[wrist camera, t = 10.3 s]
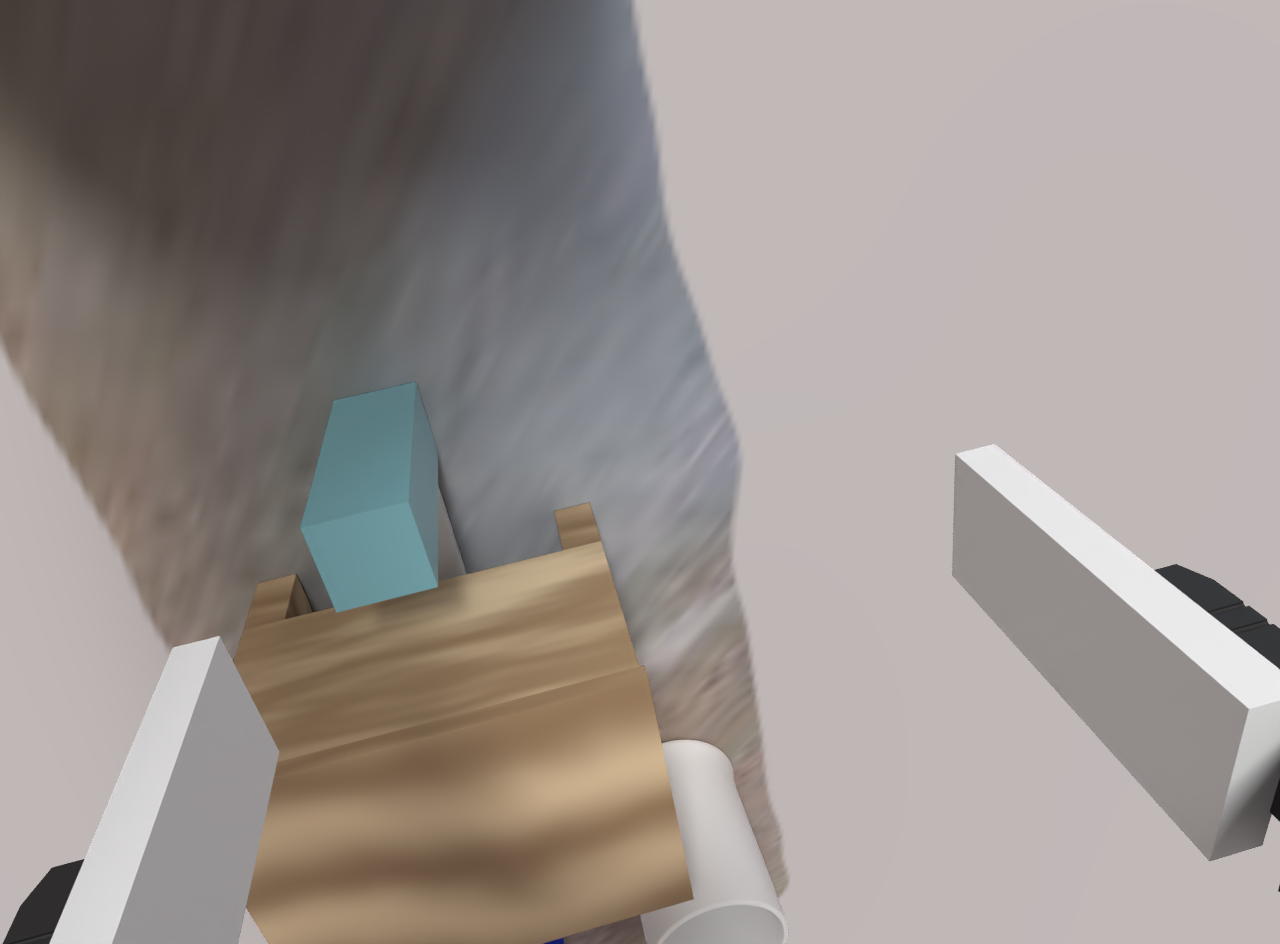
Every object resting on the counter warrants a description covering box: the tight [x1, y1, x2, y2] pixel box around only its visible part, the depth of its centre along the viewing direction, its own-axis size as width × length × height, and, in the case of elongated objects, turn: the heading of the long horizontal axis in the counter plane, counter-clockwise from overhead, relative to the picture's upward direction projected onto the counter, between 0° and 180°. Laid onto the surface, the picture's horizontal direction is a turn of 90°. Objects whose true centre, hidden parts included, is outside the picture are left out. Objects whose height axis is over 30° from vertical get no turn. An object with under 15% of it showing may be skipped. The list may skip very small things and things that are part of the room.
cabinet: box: [233, 502, 694, 944], centre depth 44 cm, size 14×18×15 cm
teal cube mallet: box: [300, 382, 467, 613], centre depth 44 cm, size 26×4×12 cm, turn 9°
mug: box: [640, 740, 788, 944], centre depth 55 cm, size 12×8×12 cm
